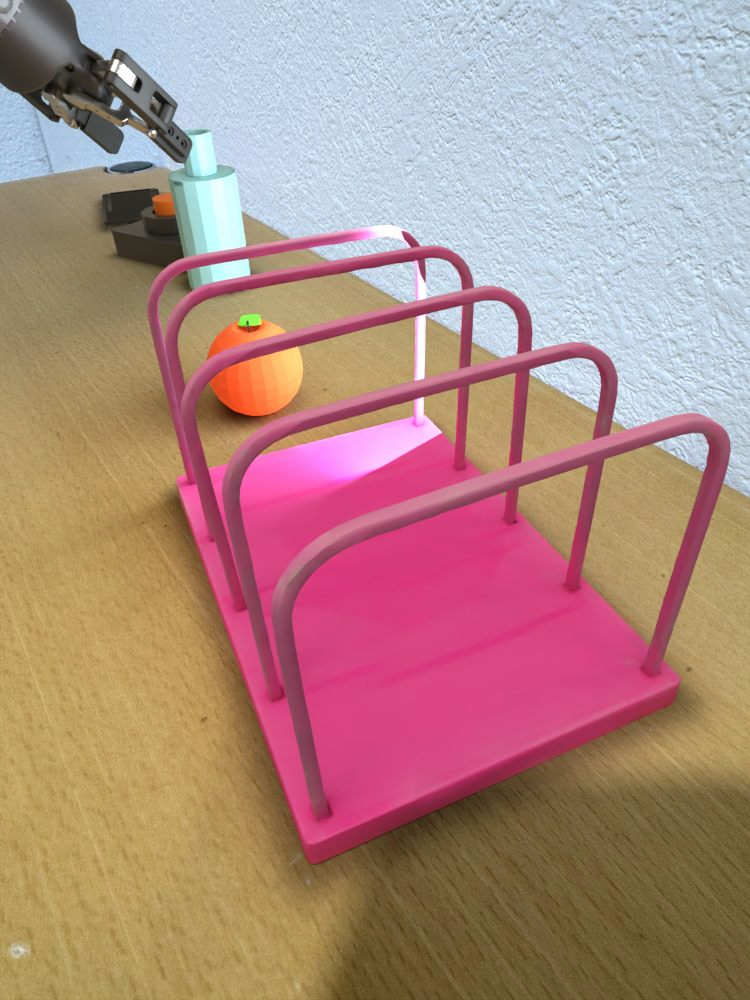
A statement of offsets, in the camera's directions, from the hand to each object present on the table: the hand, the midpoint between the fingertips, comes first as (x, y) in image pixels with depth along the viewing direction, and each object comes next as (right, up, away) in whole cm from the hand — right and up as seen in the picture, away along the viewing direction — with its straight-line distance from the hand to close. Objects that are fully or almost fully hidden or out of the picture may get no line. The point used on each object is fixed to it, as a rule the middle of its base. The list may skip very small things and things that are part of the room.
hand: (151, 149), depth 61 cm
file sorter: (+20, -35, -23) cm, 47 cm away
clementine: (+11, -24, -8) cm, 27 cm away
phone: (-13, +8, +34) cm, 38 cm away
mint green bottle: (+3, -8, +12) cm, 15 cm away
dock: (-3, -2, +20) cm, 21 cm away
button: (-3, +2, +17) cm, 18 cm away
